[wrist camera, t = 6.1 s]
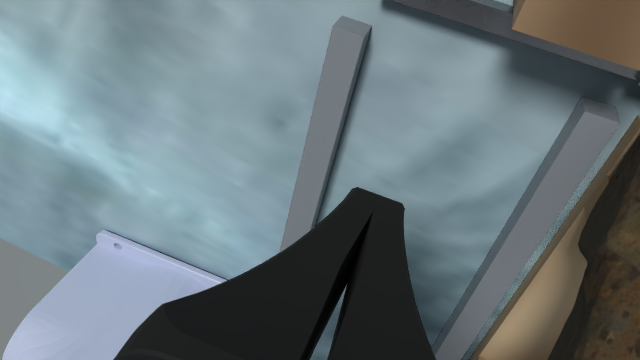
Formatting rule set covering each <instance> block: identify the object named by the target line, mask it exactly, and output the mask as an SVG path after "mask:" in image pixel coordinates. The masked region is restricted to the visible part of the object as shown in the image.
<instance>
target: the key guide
mask: <svg viewBox="0 0 640 360" xmlns="http://www.w3.org/2000/svg"><path fill="white" fill-rule="evenodd" d="M392 1H395V2H398V3H402V4H405V5H408V6H411V7H414V8H417V9H420V10H423V11H426V12H429V13H432V14H435V15H438V16H441V17H444V18H447V19H450V20H453V21H457V22H460V23H463V24H466V25H469V26H472V27H475V28H478V29H481V30H484V31H487V32H490V33H493V34H496V35H499V36H502V37H505V38H508V39H512V40H515V41H518V42H521V43H524V44H527V45H530V46H533V47H536V48H539V49H542V50H545V51H548V52H551V53H554V54H557V55H560V56H563V57H567V58H570V59H573V60H576V61H579V62H582V63H585V64H588V65H591V66H594V67H597V68H600V69H603V70H606V71H609V72H612V73H615V74H618V75H622V76H625V77H628V78H631V79H634V80H636V81H637V84H638V85H639V86H640V71H639V70H636V69H633V68H630V67H626V66H623V65H620V64H617V63H614V62H611V61H608V60H605V59H602V58H599V57H596V56H593V55H589V54H586V53H583V52H580V51H577V50H574V49H571V48H568V47H565V46H562V45H559V44H556V43H553V42H549V41H546V40H543V39H540V38H537V37H534V36H531V35H528V34H525V33H522V32H519V31H516V30H513V29H512V21H513V9H514V7H512V6H509V5H506V4H503V3H500V2H497V1H494V0H392Z"/></svg>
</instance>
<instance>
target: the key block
mask: <svg viewBox="0 0 640 360" xmlns="http://www.w3.org/2000/svg"><path fill="white" fill-rule="evenodd" d="M512 29H513V30H516V31H519V32H522V33H525V34H528V35H531V36H534V37H537V38H540V39H543V40H546V41H549V42H553V43H556V44H559V45H562V46H565V47H568V48H571V49H574V50H577V51H580V52H583V53H586V54H589V55H593V56H596V57H599V58H602V59H605V60H608V61H611V62H614V63H617V64H620V65H623V66H626V67H630V68H633V69H636V70H639V71H640V0H514V9H513V21H512Z"/></svg>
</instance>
